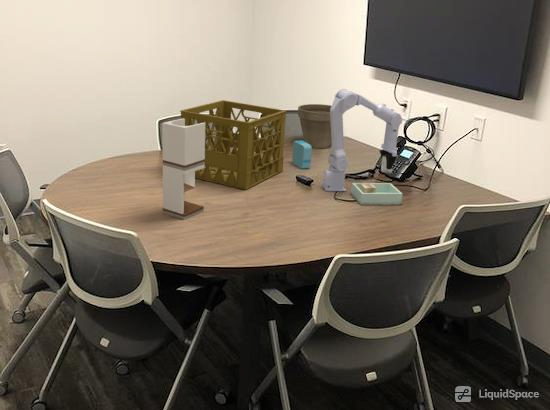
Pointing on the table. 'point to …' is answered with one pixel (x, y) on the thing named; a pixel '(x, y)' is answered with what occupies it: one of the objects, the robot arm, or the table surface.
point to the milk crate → (239, 143)
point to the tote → (377, 194)
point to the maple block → (368, 188)
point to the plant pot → (316, 124)
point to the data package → (301, 154)
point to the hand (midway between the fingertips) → (386, 167)
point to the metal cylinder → (383, 166)
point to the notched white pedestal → (181, 165)
